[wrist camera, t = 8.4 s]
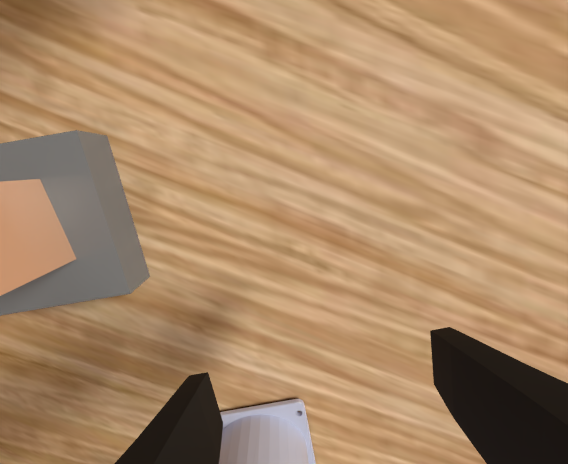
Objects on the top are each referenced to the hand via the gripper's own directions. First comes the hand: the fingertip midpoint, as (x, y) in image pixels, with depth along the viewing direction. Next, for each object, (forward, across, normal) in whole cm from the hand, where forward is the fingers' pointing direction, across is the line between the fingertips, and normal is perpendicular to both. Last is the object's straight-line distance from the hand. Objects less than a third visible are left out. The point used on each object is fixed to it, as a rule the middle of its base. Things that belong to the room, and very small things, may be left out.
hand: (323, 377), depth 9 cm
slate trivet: (+10, +14, -6) cm, 19 cm away
